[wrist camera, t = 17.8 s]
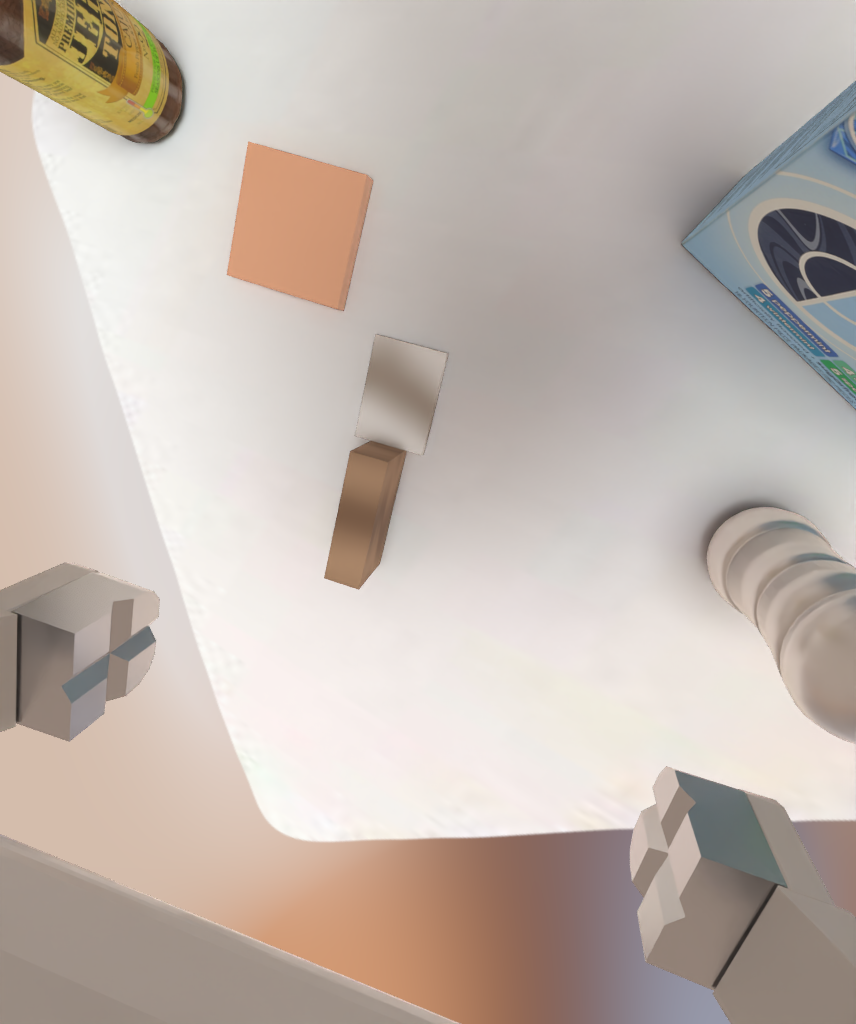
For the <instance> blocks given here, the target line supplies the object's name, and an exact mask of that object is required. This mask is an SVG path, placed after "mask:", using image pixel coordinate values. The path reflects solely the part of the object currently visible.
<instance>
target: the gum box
mask: <svg viewBox="0 0 856 1024" xmlns="http://www.w3.org/2000/svg"><path fill="white" fill-rule="evenodd" d="M682 246H684V247H685V248H686V249H687V250H688V251H689V252H690V253H691V254H692V255H693V256H694V257H695V258H696V259H697V260H698V261H699V262H700V263H701V264H703V265H704V266H705V267H706V268H707V269H708V270H709V271H710V272H711V273H712V274H713V275H714V276H715V277H716V278H717V279H718V280H719V281H720V282H721V283H722V284H723V285H724V286H725V287H727V288H728V289H729V290H730V291H731V292H732V293H733V294H734V295H735V296H736V297H737V298H739V299H740V300H741V301H742V302H743V303H744V304H745V305H746V306H747V307H748V308H749V309H750V310H751V311H752V312H753V313H754V314H755V315H757V316H758V317H759V318H760V319H761V320H762V321H763V322H764V323H765V324H766V325H767V326H769V327H770V328H771V329H772V330H773V331H774V332H775V333H776V334H777V335H778V336H779V337H780V338H782V339H783V340H784V341H785V342H786V343H787V344H788V345H789V346H790V347H791V348H792V349H793V350H794V351H796V352H797V353H798V354H799V355H800V356H801V357H802V358H803V359H804V360H805V361H806V362H807V363H808V364H809V365H810V366H811V367H812V368H814V369H815V370H816V371H817V372H818V373H819V374H820V375H821V376H822V377H823V378H824V379H825V380H826V381H827V382H828V383H829V384H830V385H831V386H832V387H833V388H834V389H835V390H836V391H837V392H838V393H840V394H841V395H842V396H843V397H844V398H845V399H846V400H847V401H848V402H849V403H850V404H851V405H852V406H853V407H854V408H855V409H856V81H855V82H854V83H853V84H851V85H850V86H849V87H848V88H847V89H846V90H845V91H843V92H842V93H841V94H840V95H839V96H838V97H836V98H835V99H834V100H833V101H832V102H831V103H829V104H828V105H827V106H826V107H825V108H824V109H822V110H821V111H820V112H819V113H818V114H816V115H815V116H814V117H813V118H812V119H810V120H809V121H808V122H807V123H806V124H805V125H804V126H802V127H801V128H800V129H799V130H798V131H797V132H795V133H794V134H793V135H792V136H791V137H789V138H788V139H787V140H786V141H785V142H784V143H782V144H781V145H780V146H779V147H778V148H776V149H775V150H774V151H773V152H772V153H771V154H770V155H769V156H768V157H766V158H765V159H764V160H763V161H762V162H760V163H759V164H758V165H757V166H756V167H754V168H753V169H752V170H751V171H750V172H749V173H748V174H746V175H745V176H744V177H743V178H742V179H741V180H740V181H739V182H738V183H737V184H736V186H735V187H734V188H733V189H732V190H731V191H730V192H729V193H728V194H727V195H726V196H725V197H724V198H723V199H722V200H721V201H720V203H719V204H718V205H717V206H716V207H715V208H714V209H713V210H712V211H711V212H710V213H709V214H708V215H707V216H706V217H705V218H704V219H703V220H702V221H701V223H700V224H699V225H698V226H697V227H696V228H695V229H694V230H693V231H692V232H691V233H690V234H689V235H688V236H687V237H686V238H685V239H684V240H683V242H682Z"/></svg>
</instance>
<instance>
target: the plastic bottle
mask: <svg viewBox="0 0 856 1024" xmlns="http://www.w3.org/2000/svg"><path fill="white" fill-rule="evenodd" d="M707 566H708V571H709V575H710V579H711V582H712V584H713V586H714V588H715V590H716V591H717V592H718V593H719V595H720V596H721V597H722V598H723V599H724V600H725V601H726V602H728V603H729V604H730V605H731V606H732V607H734V608H735V609H736V610H738V611H739V612H741V613H742V614H744V615H745V616H746V617H747V618H748V619H749V620H750V621H751V622H752V623H753V624H754V625H755V626H756V627H757V628H758V630H759V632H760V633H761V635H762V636H763V638H764V640H765V642H766V643H767V645H768V647H769V648H770V650H771V652H772V655H773V657H774V660H775V662H776V665H777V667H778V670H779V672H780V674H781V677H782V679H783V682H784V684H785V686H786V688H787V690H788V692H789V694H790V695H791V697H792V699H793V701H794V703H795V705H796V706H797V707H798V708H799V709H800V711H801V712H802V713H803V714H804V715H805V716H806V717H807V718H809V719H810V720H811V721H813V722H814V723H815V724H817V725H818V726H820V727H821V728H823V729H824V730H826V731H827V732H829V733H830V734H832V735H834V736H836V737H838V738H840V739H842V740H845V741H848V742H851V743H854V744H856V568H854V567H853V566H852V565H850V564H848V563H847V562H846V561H845V560H844V559H843V558H842V557H840V556H839V555H838V554H837V553H836V552H835V551H834V550H833V549H832V548H831V546H830V544H829V542H828V541H827V539H826V538H825V537H824V536H823V535H822V533H821V532H820V531H819V530H818V529H817V527H816V526H815V525H814V524H813V523H811V522H810V521H809V520H808V519H806V518H805V517H803V516H801V515H799V514H797V513H794V512H790V511H786V510H783V509H779V508H775V507H757V508H751V509H748V510H744V511H742V512H740V513H738V514H736V515H733V516H732V517H731V518H729V519H728V520H726V521H725V522H724V523H723V524H722V525H721V526H720V527H719V528H718V529H717V531H716V532H715V534H714V535H713V537H712V539H711V541H710V544H709V546H708V551H707Z"/></svg>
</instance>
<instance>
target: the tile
mask: <svg viewBox="0 0 856 1024" xmlns="http://www.w3.org/2000/svg"><path fill="white" fill-rule="evenodd" d="M372 184H373V180H372V179H371V178H370V177H369V176H368V175H365V174H362V173H358V172H355V171H351V170H347V169H344V168H340V167H337V166H333V165H330V164H326V163H323V162H319V161H315V160H312V159H308V158H305V157H301V156H298V155H294V154H291V153H287V152H283V151H280V150H276V149H273V148H269V147H266V146H262V145H258V144H255V143H251V142H248V147H247V153H246V159H245V165H244V171H243V178H242V184H241V190H240V196H239V203H238V209H237V215H236V221H235V227H234V234H233V240H232V246H231V252H230V259H229V265H228V271H227V275H229V276H232V277H235V278H238V279H241V280H245V281H248V282H251V283H254V284H258V285H261V286H264V287H267V288H270V289H274V290H277V291H280V292H283V293H286V294H290V295H293V296H296V297H299V298H302V299H306V300H309V301H312V302H315V303H319V304H322V305H325V306H328V307H331V308H335V309H338V310H343V311H344V308H345V303H346V299H347V294H348V290H349V286H350V281H351V277H352V272H353V268H354V264H355V259H356V255H357V250H358V246H359V242H360V237H361V233H362V228H363V224H364V219H365V215H366V211H367V206H368V202H369V197H370V193H371V189H372Z"/></svg>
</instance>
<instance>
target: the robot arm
mask: <svg viewBox="0 0 856 1024" xmlns="http://www.w3.org/2000/svg"><path fill="white" fill-rule="evenodd" d="M159 601H160V599H159V597H158V596H157V595H156V594H155V592H154V591H151V590H148V589H146V588H143V587H140V586H137V585H134V584H132V583H129V582H127V581H123V580H121V579H118V578H115V577H113V576H110V575H107V574H105V573H100V572H98V571H96V570H94V569H91V568H87V567H84V566H81V565H78V564H75V563H63V564H60V565H58V566H56V567H53V568H51V569H49V570H46V571H44V572H42V573H39V574H37V575H35V576H32V577H30V578H28V579H25V580H23V581H21V582H19V583H16V584H14V585H11V586H9V587H7V588H4V589H2V590H0V732H2V731H5V730H7V729H10V728H13V727H15V726H16V723H17V724H20V725H23V726H26V727H29V728H32V729H34V730H38V731H40V732H43V733H46V734H49V735H52V736H55V737H57V738H60V739H63V740H66V741H71V740H72V739H73V738H74V737H75V736H77V735H78V734H79V733H81V732H82V731H83V730H84V729H86V728H87V727H88V726H89V725H91V724H92V723H93V722H94V721H95V720H97V719H98V718H99V717H100V716H102V715H103V714H104V711H105V704H106V701H109V700H113V699H116V698H120V697H124V696H126V695H127V694H128V693H130V692H131V691H132V690H133V689H134V688H135V687H136V686H138V685H139V684H140V682H141V681H142V679H143V678H144V676H145V675H146V673H147V672H148V670H149V669H150V666H151V663H152V660H153V657H154V654H155V647H156V640H155V638H154V635H153V633H152V632H151V629H150V627H149V625H150V624H152V623H153V622H154V621H155V620H156V619H157V618H158V617H159ZM653 792H654V796H655V800H656V804H655V805H653V806H651V807H649V808H647V809H645V810H643V811H641V813H640V816H639V818H638V820H637V823H636V825H635V828H634V831H633V836H632V841H631V847H630V870H631V877H632V882H633V883H634V885H635V886H636V888H637V889H638V890H639V892H640V893H641V895H642V896H643V897H644V899H643V901H642V903H641V905H640V907H639V909H638V911H637V915H638V921H639V927H640V933H641V938H642V945H643V951H644V956H645V962H647V963H649V964H651V965H654V966H656V967H658V968H661V969H663V970H666V971H668V972H670V973H673V974H676V975H678V976H681V977H683V978H685V979H688V980H690V981H692V982H695V983H697V984H699V985H702V986H704V987H707V988H709V989H711V990H714V992H713V995H714V997H715V999H716V1000H717V1002H718V1003H719V1005H720V1007H721V1008H722V1010H723V1011H724V1013H725V1015H726V1016H727V1018H728V1020H729V1021H730V1023H731V1024H856V917H855V916H854V915H853V914H852V913H851V912H849V911H848V910H845V909H842V908H840V907H837V906H835V904H834V902H833V900H832V898H831V896H830V895H829V893H828V891H827V889H826V887H825V885H824V883H823V881H822V879H821V877H820V876H819V873H818V872H817V870H816V868H815V866H814V864H813V862H812V860H811V858H810V856H809V854H808V852H807V851H806V849H805V847H804V845H803V843H802V841H801V839H800V837H799V835H798V834H797V832H796V830H795V828H794V826H793V824H792V822H791V820H790V818H789V816H788V814H787V812H786V810H785V809H784V807H783V806H782V805H780V804H779V803H778V802H777V801H776V800H773V799H770V798H767V797H764V796H760V795H757V794H754V793H750V792H747V791H744V790H741V789H735V788H732V787H729V786H726V785H723V784H719V783H716V782H713V781H710V780H707V779H704V778H701V777H698V776H695V775H692V774H689V773H685V772H682V771H679V770H676V769H673V768H670V767H667V766H666V767H665V768H664V769H663V770H662V771H661V773H660V774H659V775H658V777H657V779H656V782H655V784H654V786H653ZM0 1024H460V1023H457V1022H455V1021H453V1020H450V1019H448V1018H445V1017H443V1016H441V1015H438V1014H436V1013H433V1012H431V1011H428V1010H426V1009H424V1008H421V1007H419V1006H416V1005H414V1004H412V1003H409V1002H407V1001H404V1000H402V999H399V998H397V997H395V996H392V995H390V994H387V993H385V992H382V991H380V990H378V989H375V988H373V987H370V986H368V985H365V984H363V983H361V982H358V981H356V980H353V979H351V978H348V977H346V976H343V975H341V974H339V973H336V972H334V971H332V970H329V969H327V968H324V967H322V966H319V965H317V964H315V963H312V962H310V961H307V960H305V959H302V958H300V957H298V956H295V955H293V954H290V953H288V952H285V951H283V950H281V949H278V948H275V947H273V946H271V945H268V944H266V943H264V942H261V941H259V940H256V939H254V938H251V937H249V936H246V935H244V934H242V933H239V932H237V931H234V930H232V929H230V928H227V927H225V926H222V925H220V924H217V923H215V922H212V921H210V920H208V919H205V918H203V917H200V916H198V915H195V914H193V913H191V912H188V911H186V910H183V909H181V908H178V907H176V906H174V905H171V904H169V903H166V902H164V901H162V900H159V899H157V898H154V897H152V896H149V895H147V894H145V893H142V892H140V891H137V890H135V889H132V888H130V887H128V886H125V885H123V884H120V883H118V882H115V881H113V880H111V879H108V878H106V877H103V876H101V875H98V874H96V873H94V872H91V871H89V870H86V869H84V868H82V867H79V866H77V865H74V864H72V863H69V862H67V861H64V860H62V859H60V858H57V857H55V856H52V855H50V854H47V853H45V852H43V851H40V850H38V849H35V848H33V847H31V846H28V845H26V844H23V843H20V842H18V841H16V840H14V839H11V838H9V837H6V836H4V835H1V834H0Z"/></svg>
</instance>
